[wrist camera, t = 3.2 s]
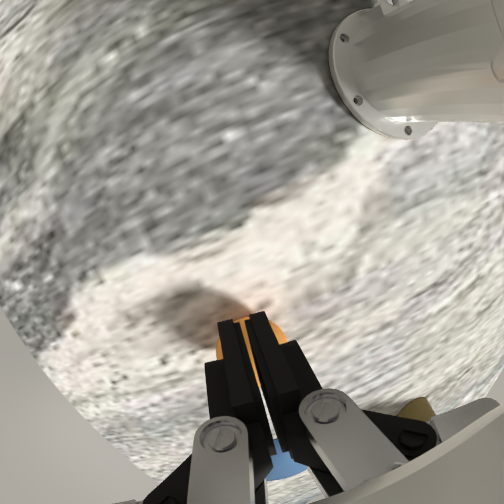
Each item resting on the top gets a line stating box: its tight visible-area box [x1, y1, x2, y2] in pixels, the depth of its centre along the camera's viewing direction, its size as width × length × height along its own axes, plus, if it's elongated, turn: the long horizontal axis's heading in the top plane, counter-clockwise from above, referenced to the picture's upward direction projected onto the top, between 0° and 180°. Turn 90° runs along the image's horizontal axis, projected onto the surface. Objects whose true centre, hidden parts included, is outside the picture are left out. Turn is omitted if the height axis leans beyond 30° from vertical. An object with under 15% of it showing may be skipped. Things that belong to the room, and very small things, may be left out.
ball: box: [216, 317, 287, 387], centre depth 24 cm, size 6×6×6 cm
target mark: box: [266, 439, 307, 481], centre depth 36 cm, size 13×13×1 cm
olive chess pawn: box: [397, 397, 436, 422], centre depth 33 cm, size 6×6×11 cm
